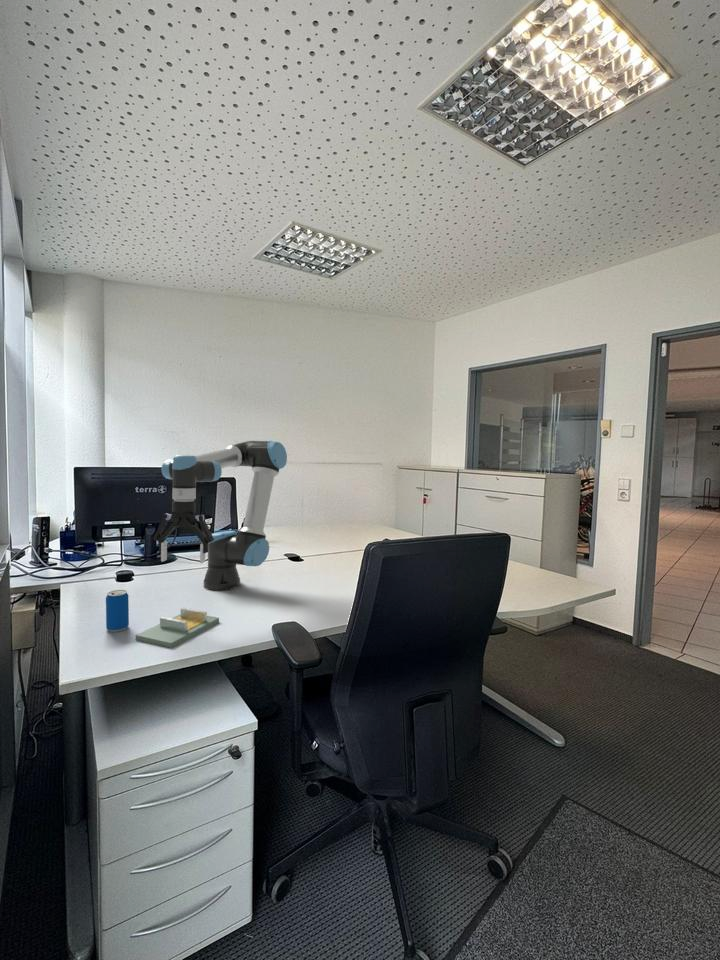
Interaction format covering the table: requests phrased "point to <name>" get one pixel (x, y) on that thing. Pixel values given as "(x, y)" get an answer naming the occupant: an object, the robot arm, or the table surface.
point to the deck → (173, 633)
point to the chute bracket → (184, 620)
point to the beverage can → (117, 610)
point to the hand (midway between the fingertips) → (183, 561)
